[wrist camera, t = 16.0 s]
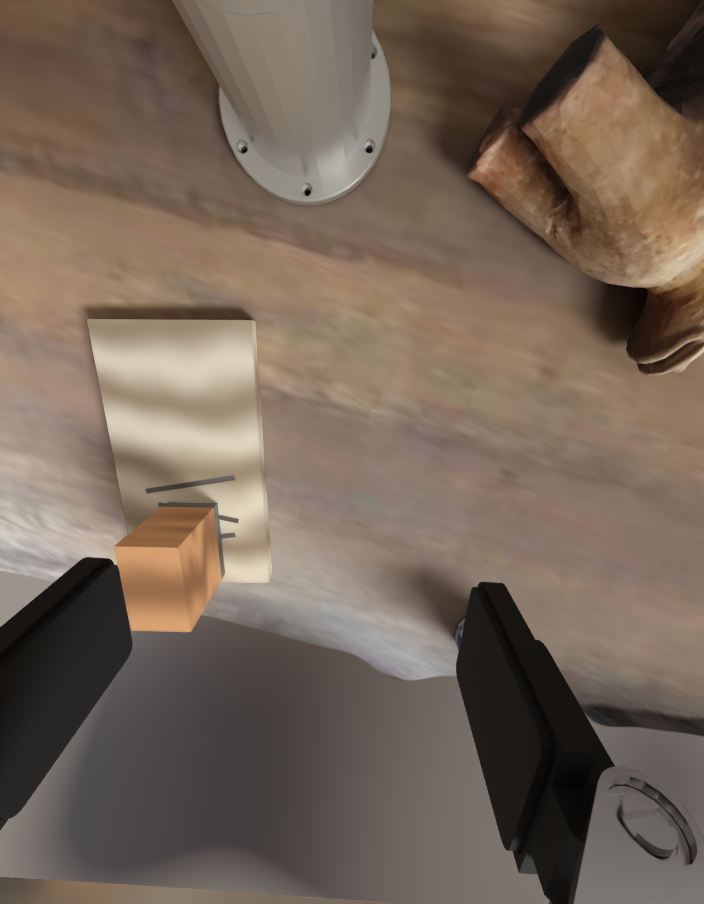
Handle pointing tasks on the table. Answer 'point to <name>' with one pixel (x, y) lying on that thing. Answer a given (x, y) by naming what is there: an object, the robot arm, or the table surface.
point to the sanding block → (171, 566)
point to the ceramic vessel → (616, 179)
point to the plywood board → (188, 426)
